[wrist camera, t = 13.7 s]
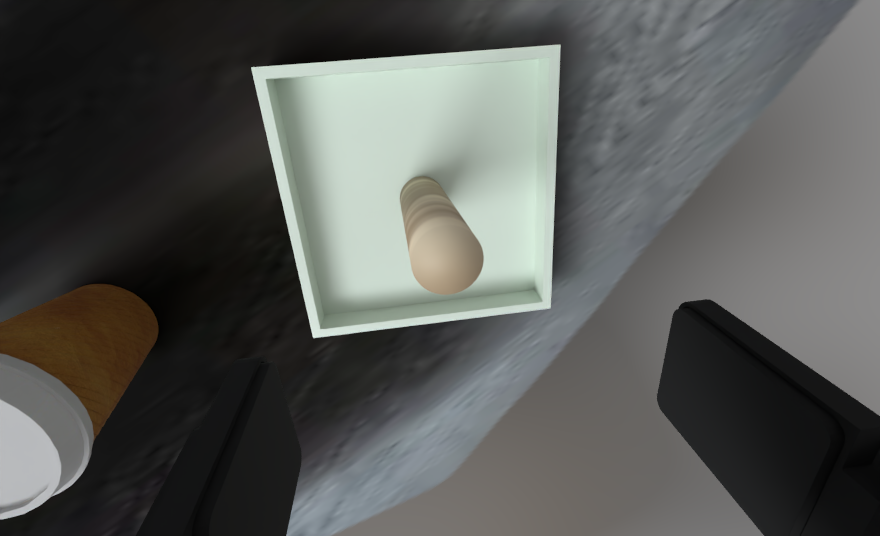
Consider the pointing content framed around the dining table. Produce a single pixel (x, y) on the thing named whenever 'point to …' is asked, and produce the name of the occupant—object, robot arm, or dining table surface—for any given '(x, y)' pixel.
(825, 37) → the dining table surface
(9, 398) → the disposable coffee cup
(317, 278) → the tray
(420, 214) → the wooden pin
